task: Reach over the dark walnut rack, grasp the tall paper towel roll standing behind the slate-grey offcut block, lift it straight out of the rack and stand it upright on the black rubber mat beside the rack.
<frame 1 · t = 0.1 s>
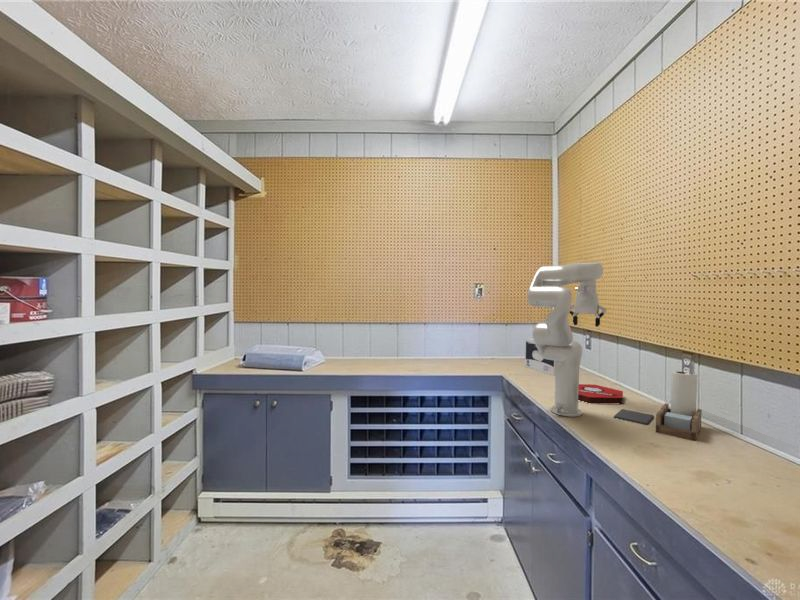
hand: (586, 325, 185), 37 cm above the worktop, tool pointing down, fingers open, 9 cm apart
offcut block: (677, 431, 147), resting in rack
mat: (633, 417, 163), on the worktop
packaging: (542, 371, 258), on the worktop
plaque: (592, 397, 195), on the worktop
paper towel roll: (680, 426, 153), resting in rack
rack: (679, 428, 151), on the worktop
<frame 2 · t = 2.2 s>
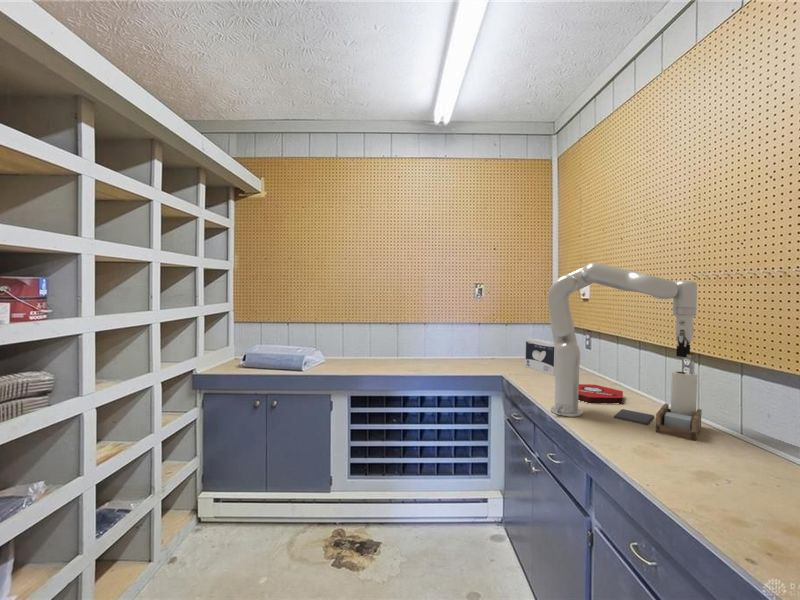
hand: (683, 355, 153), 28 cm above the worktop, tool pointing down, fingers open, 9 cm apart
nothing on the worktop moved.
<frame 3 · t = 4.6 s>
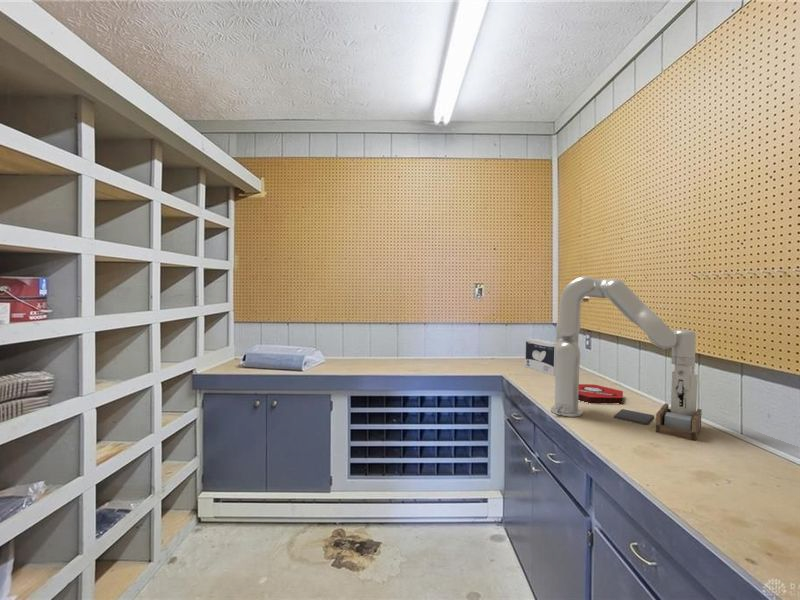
hand: (681, 406, 153), 8 cm above the worktop, tool pointing down, fingers closed on paper towel roll, 3 cm apart
paper towel roll: (680, 426, 153), resting in rack, touching gripper
everything else where it was.
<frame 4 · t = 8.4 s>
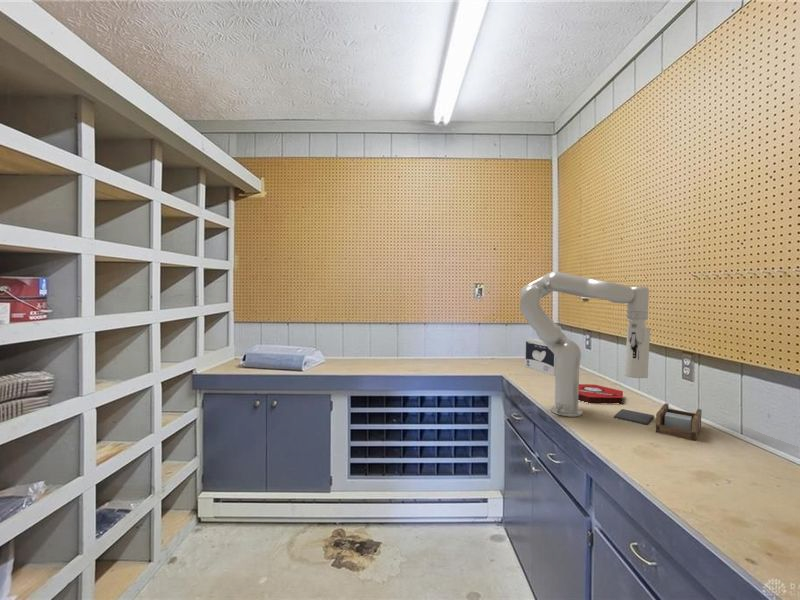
hand: (635, 358, 162), 25 cm above the worktop, tool pointing down, fingers closed on paper towel roll, 3 cm apart
paper towel roll: (634, 377, 162), point 17 cm above the worktop, touching gripper
everything else where it was.
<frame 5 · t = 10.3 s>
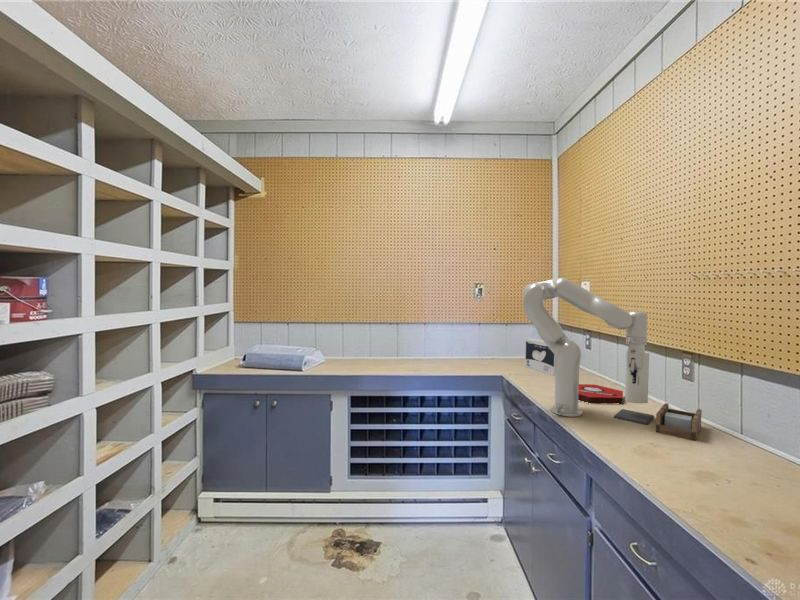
hand: (635, 383, 163), 14 cm above the worktop, tool pointing down, fingers closed on paper towel roll, 3 cm apart
paper towel roll: (634, 402, 163), point 6 cm above the worktop, touching gripper
everything else where it was.
when the fingers open (10 cm above the worktop, at t = 12.0 s): paper towel roll stays where it is, resting on mat.
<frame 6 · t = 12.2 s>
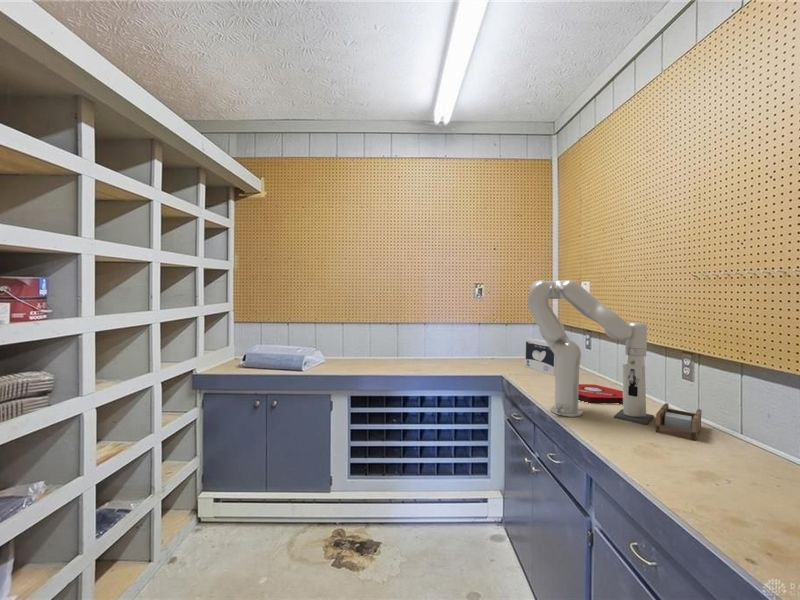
hand: (634, 394, 163), 10 cm above the worktop, tool pointing down, fingers open, 5 cm apart
paper towel roll: (633, 415, 163), point 1 cm above the worktop, touching mat
everything else where it was.
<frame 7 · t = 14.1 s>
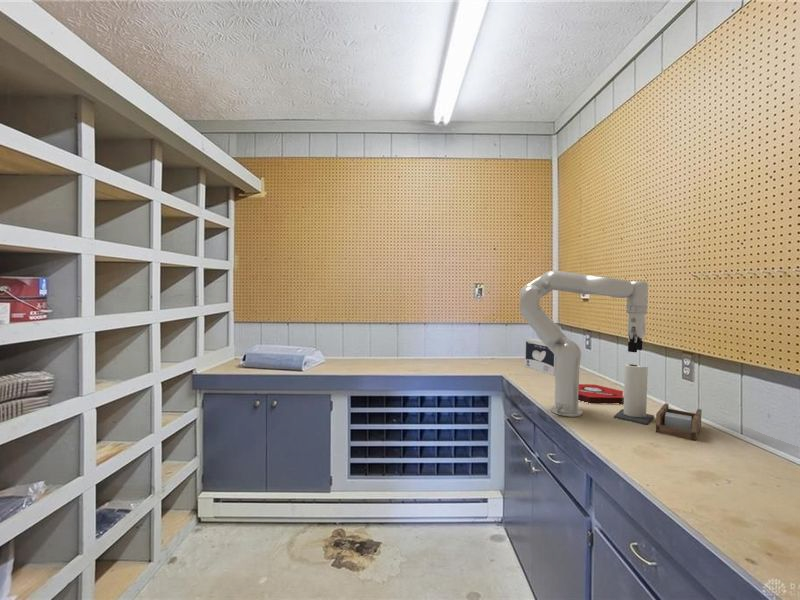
hand: (635, 350, 162), 28 cm above the worktop, tool pointing down, fingers open, 9 cm apart
nothing on the worktop moved.
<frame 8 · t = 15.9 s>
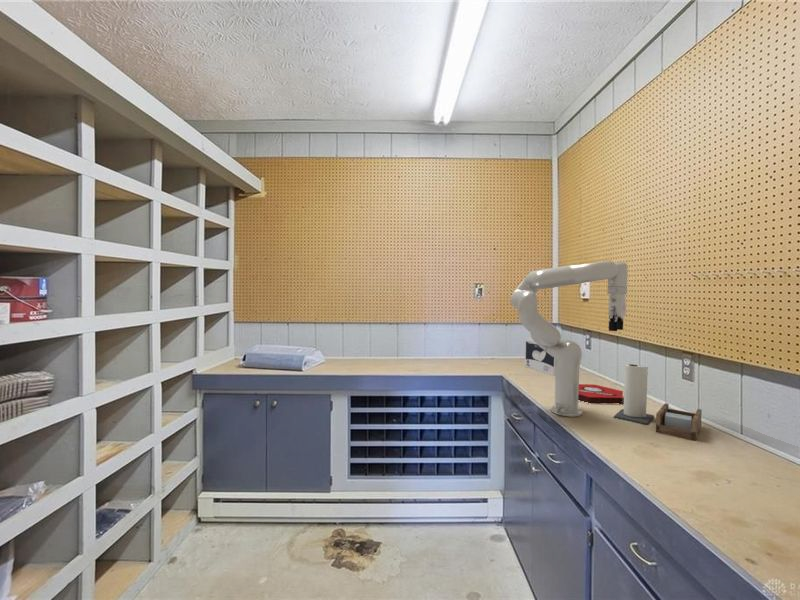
hand: (615, 330, 168), 36 cm above the worktop, tool pointing down, fingers open, 9 cm apart
nothing on the worktop moved.
at the end: paper towel roll inside the target area on the mat (0.5 cm from its centre), point 0.6 cm above the mat's base; paper towel roll tilted 0°; the gripper is holding nothing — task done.
